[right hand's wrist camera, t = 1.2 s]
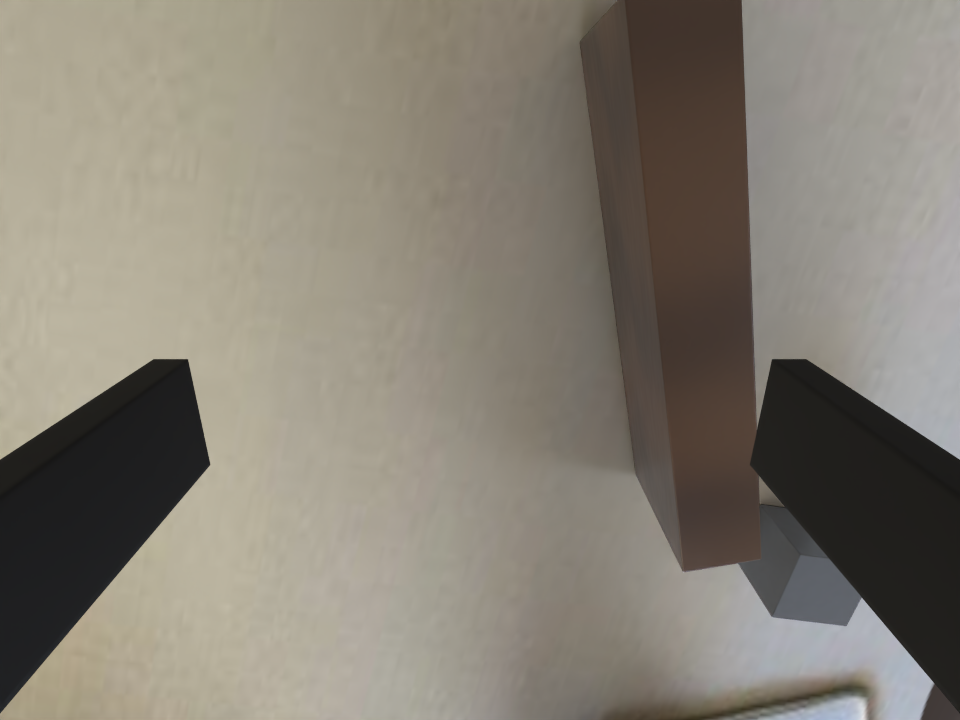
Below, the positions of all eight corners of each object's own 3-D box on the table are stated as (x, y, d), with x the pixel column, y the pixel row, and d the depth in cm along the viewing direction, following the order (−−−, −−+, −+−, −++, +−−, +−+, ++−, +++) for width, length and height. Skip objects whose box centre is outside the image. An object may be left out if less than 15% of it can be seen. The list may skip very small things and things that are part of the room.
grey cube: (759, 503, 37) (800, 554, 32) (829, 513, 37) (879, 564, 33) (736, 561, 39) (771, 617, 34) (803, 570, 39) (846, 626, 35)
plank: (579, 41, 27) (624, -9, 19) (659, 22, 27) (741, -38, 18) (635, 475, 36) (682, 573, 28) (695, 464, 36) (761, 559, 28)
